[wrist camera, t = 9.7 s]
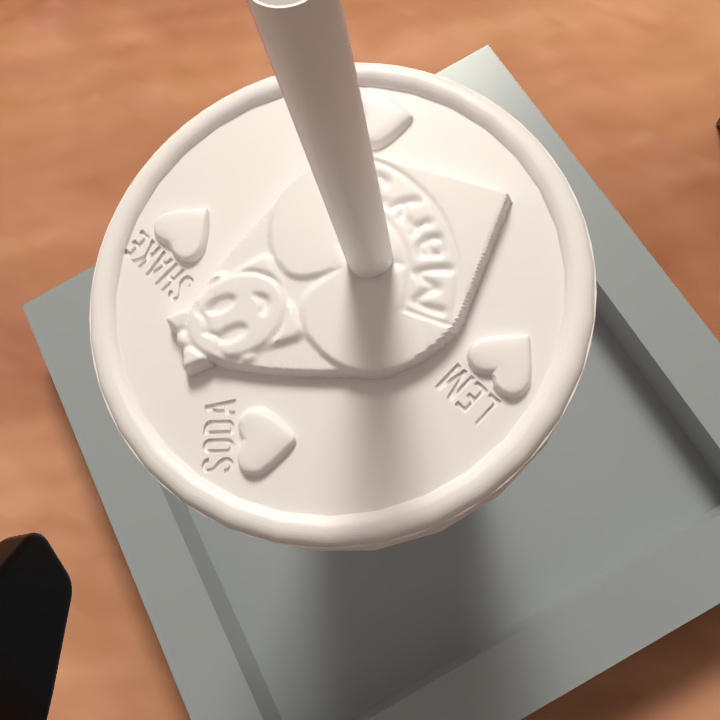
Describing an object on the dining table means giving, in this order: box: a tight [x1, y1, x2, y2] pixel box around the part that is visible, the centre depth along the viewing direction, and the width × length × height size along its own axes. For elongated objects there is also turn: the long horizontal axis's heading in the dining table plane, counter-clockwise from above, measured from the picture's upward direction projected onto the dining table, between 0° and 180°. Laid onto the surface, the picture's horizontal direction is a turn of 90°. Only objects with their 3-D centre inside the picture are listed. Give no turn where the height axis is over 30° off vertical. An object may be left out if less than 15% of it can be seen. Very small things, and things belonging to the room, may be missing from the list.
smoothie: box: [89, 0, 597, 551], centre depth 10 cm, size 6×6×14 cm
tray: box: [23, 45, 720, 720], centre depth 17 cm, size 15×15×2 cm
